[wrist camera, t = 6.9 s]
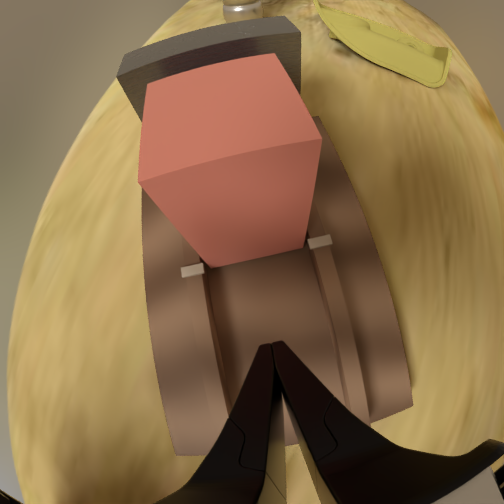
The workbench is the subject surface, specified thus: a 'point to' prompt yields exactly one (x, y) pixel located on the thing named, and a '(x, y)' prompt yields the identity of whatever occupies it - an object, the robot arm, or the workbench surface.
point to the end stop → (210, 53)
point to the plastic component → (388, 46)
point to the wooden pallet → (274, 315)
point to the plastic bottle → (242, 10)
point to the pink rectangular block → (231, 158)
